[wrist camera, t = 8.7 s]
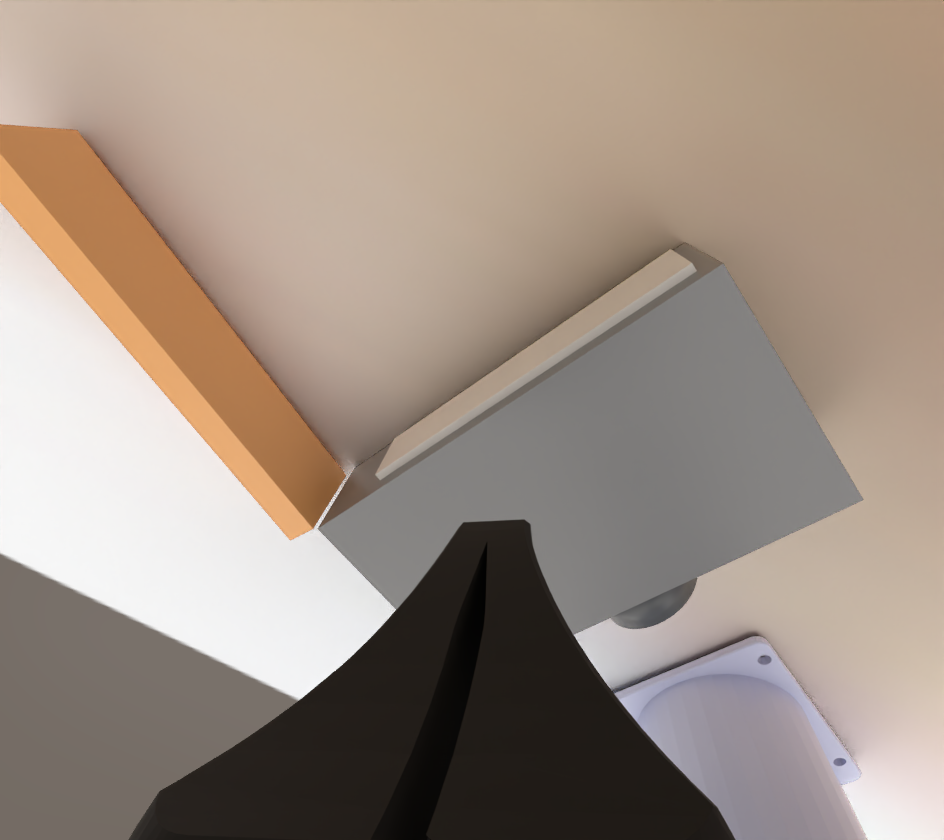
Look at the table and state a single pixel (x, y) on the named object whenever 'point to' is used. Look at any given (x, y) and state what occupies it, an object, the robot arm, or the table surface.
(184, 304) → the orange piece
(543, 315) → the table surface
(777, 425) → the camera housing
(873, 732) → the table surface
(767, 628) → the table surface
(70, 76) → the table surface
